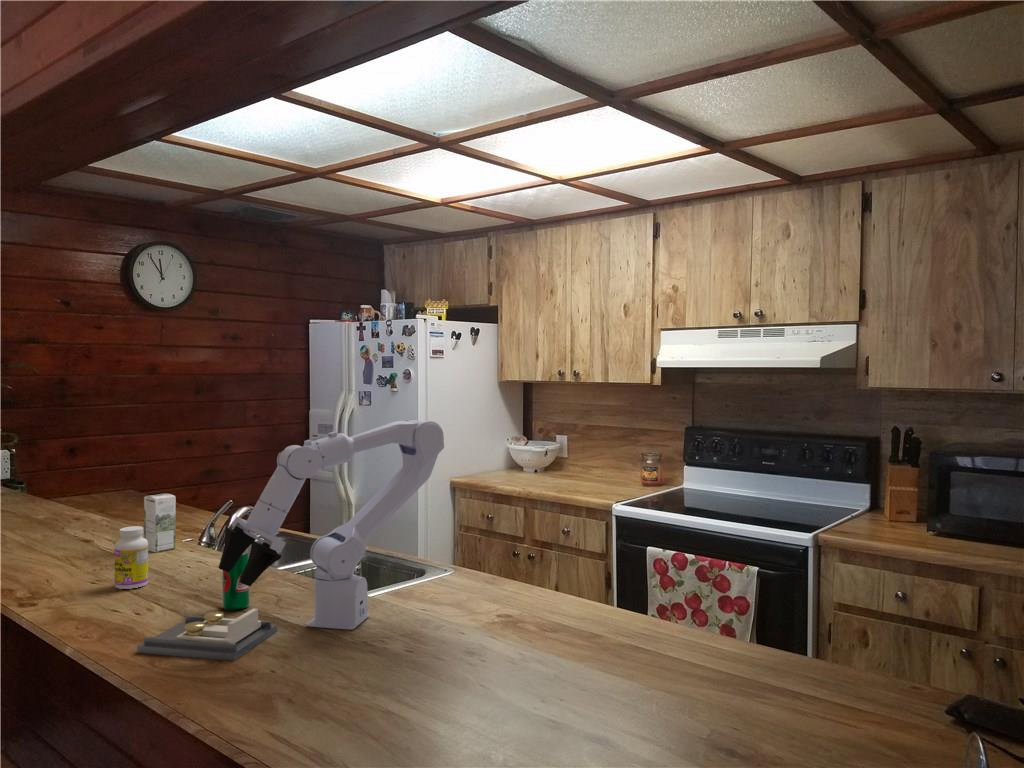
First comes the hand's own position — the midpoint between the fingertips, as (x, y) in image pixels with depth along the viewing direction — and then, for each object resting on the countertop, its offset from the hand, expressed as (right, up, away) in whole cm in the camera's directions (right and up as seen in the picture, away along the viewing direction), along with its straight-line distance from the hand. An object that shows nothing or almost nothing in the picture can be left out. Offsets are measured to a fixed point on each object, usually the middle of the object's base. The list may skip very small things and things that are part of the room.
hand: (233, 577), depth 130 cm
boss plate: (-4, -11, 0) cm, 12 cm away
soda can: (-7, -11, +19) cm, 23 cm away
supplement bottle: (-35, -11, +34) cm, 50 cm away
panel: (-2, -10, 0) cm, 10 cm away
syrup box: (-45, -10, +67) cm, 81 cm away
